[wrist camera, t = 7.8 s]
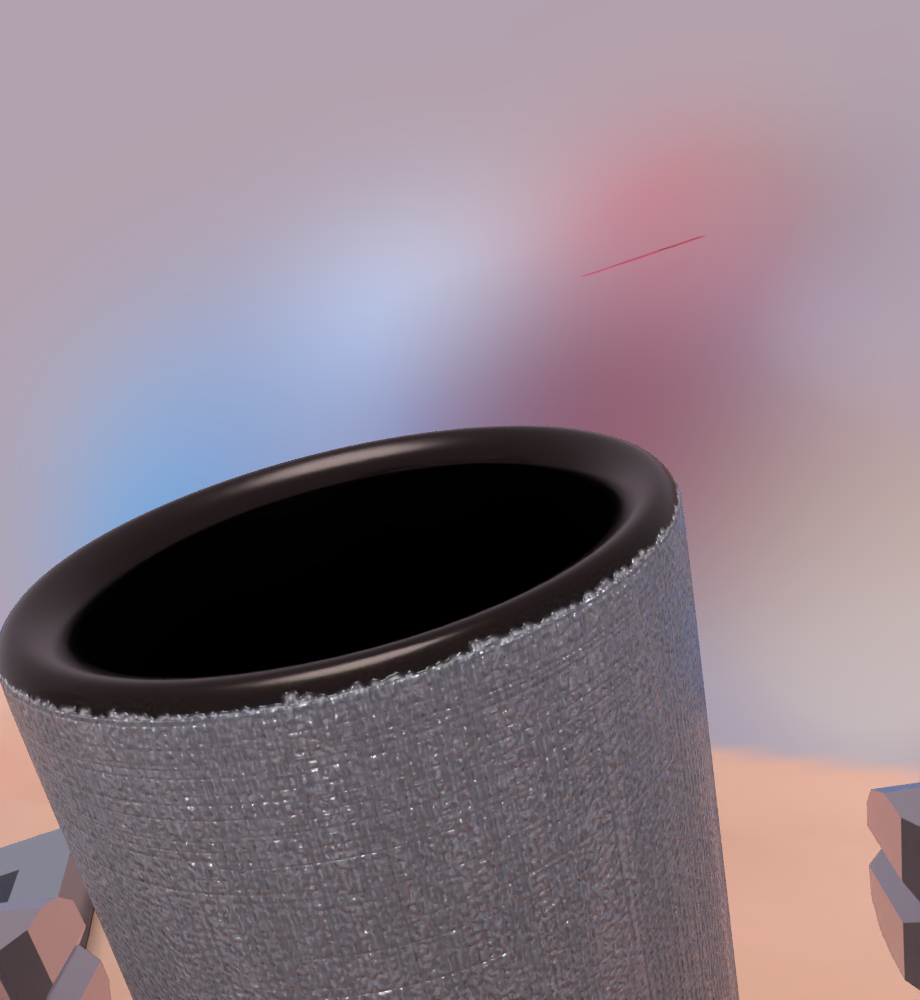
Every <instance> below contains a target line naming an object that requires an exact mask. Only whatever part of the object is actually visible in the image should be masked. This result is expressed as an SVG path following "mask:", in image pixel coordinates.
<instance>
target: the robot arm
mask: <svg viewBox="0 0 920 1000" xmlns="http://www.w3.org/2000/svg"><path fill="white" fill-rule="evenodd" d="M867 826H868V827H869V829H870V831H871V832H872V834H873V835H874V837H875V839H876V840H877V842H878V844H879V845H880V847H881V848H882V849H881V850H880V851H879V853H878V854H877V855H876V857H875V858H874V859H873V861H872V862H871V863H870V865H869V872H870V885H871V896H872V900H873V904H874V908H875V911H876V915H877V919H878V923H879V927H880V930H881V932H882V934H883V937H884V939H885V941H886V944H887V946H888V949H889V951H890V953H891V955H892V957H893V959H894V961H895V963H896V964H897V966H898V968H899V970H900V972H901V974H902V976H903V977H904V979H905V980H906V981H907V982H909V983H910V984H912V985H913V986H915V987H916V988H917V989H919V990H920V783H912V784H905V785H898V786H891V787H884V788H877V789H871V790H870V794H869V797H868V800H867ZM85 927H86V925H85V923H84V921H83V919H82V917H81V915H80V913H79V911H78V909H77V907H76V905H75V903H74V901H73V900H69V899H65V898H60V897H52V898H43V899H33V900H24V901H14V902H5V903H0V1000H111V993H110V984H109V979H108V976H107V974H106V971H105V969H104V967H103V964H102V962H101V960H100V959H98V958H97V957H95V956H94V955H93V954H91V953H90V952H88V951H87V950H86V949H84V948H83V947H81V946H80V945H79V943H80V941H81V938H82V935H83V933H84V930H85Z"/></svg>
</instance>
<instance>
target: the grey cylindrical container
mask: <svg viewBox="0 0 920 1000" xmlns="http://www.w3.org/2000/svg"><path fill="white" fill-rule="evenodd" d="M695 613H696V612H695V604H694V595H693V586H692V578H691V569H690V560H689V552H688V543H687V535H686V526H685V518H684V512H683V505H682V498H681V493H680V490H679V487H678V484H677V482H676V481H675V479H674V477H673V475H672V474H671V473H670V471H669V470H668V469H667V468H666V467H665V466H664V464H662V462H661V461H659V460H658V459H657V458H656V457H654V456H653V455H652V454H650V453H649V452H647V451H646V450H644V449H642V448H640V447H639V446H637V445H634V444H632V443H630V442H628V441H625V440H622V439H619V438H616V437H613V436H609V435H605V434H601V433H596V432H591V431H586V430H579V429H572V428H562V427H548V426H492V427H476V428H463V429H453V430H444V431H435V432H428V433H421V434H414V435H407V436H400V437H395V438H389V439H383V440H378V441H372V442H367V443H362V444H358V445H353V446H348V447H344V448H339V449H335V450H330V451H327V452H322V453H318V454H314V455H310V456H306V457H302V458H299V459H295V460H291V461H288V462H284V463H280V464H277V465H274V466H270V467H267V468H264V469H260V470H258V471H254V472H251V473H248V474H245V475H241V476H239V477H236V478H233V479H230V480H227V481H224V482H221V483H218V484H216V485H213V486H210V487H207V488H205V489H202V490H199V491H197V492H194V493H191V494H189V495H187V496H184V497H182V498H179V499H177V500H174V501H172V502H169V503H167V504H165V505H163V506H160V507H158V508H156V509H154V510H151V511H149V512H147V513H145V514H143V515H140V516H138V517H137V518H134V519H132V520H130V521H128V522H126V523H124V524H122V525H121V526H119V527H117V528H115V529H113V530H111V531H109V532H107V533H105V534H104V535H102V536H100V537H99V538H97V539H95V540H93V541H92V542H90V543H88V544H87V545H85V546H83V547H82V548H80V549H79V550H77V551H76V552H74V553H73V554H71V555H70V556H69V557H67V558H66V559H64V560H63V561H61V562H60V563H59V564H57V565H56V566H55V567H54V568H52V569H51V570H50V571H48V572H47V573H46V574H45V575H44V576H42V577H41V578H40V579H39V580H38V581H37V582H36V583H35V584H34V585H33V586H31V587H30V588H29V589H28V591H27V592H26V593H25V594H24V595H23V596H22V597H21V598H20V600H19V601H18V602H17V604H16V605H15V607H14V608H13V609H12V610H11V612H10V614H9V615H8V617H7V619H6V621H5V622H4V625H3V627H2V629H1V632H0V683H1V686H2V688H3V691H4V694H5V696H6V699H7V702H8V704H9V707H10V709H11V712H12V714H13V717H14V719H15V721H16V724H17V726H18V729H19V731H20V733H21V736H22V738H23V741H24V743H25V745H26V748H27V750H28V752H29V755H30V757H31V760H32V762H33V764H34V767H35V769H36V772H37V774H38V776H39V779H40V781H41V784H42V786H43V788H44V791H45V793H46V795H47V798H48V800H49V802H50V805H51V807H52V809H53V812H54V814H55V817H56V819H57V821H58V824H59V826H60V828H61V831H62V833H63V835H64V838H65V840H66V842H67V845H68V847H69V849H70V852H71V854H72V857H73V859H74V861H75V864H76V866H77V868H78V871H79V873H80V875H81V878H82V880H83V882H84V885H85V887H86V890H87V892H88V894H89V897H90V899H91V901H92V904H93V906H94V908H95V911H96V913H97V915H98V918H99V920H100V923H101V925H102V927H103V930H104V932H105V934H106V937H107V939H108V941H109V944H110V946H111V948H112V951H113V953H114V956H115V958H116V960H117V963H118V965H119V967H120V970H121V972H122V974H123V977H124V979H125V981H126V984H127V986H128V989H129V991H130V993H131V996H132V998H133V1000H739V994H738V985H737V976H736V968H735V959H734V950H733V941H732V932H731V923H730V914H729V905H728V897H727V888H726V879H725V870H724V861H723V852H722V843H721V834H720V825H719V817H718V808H717V799H716V790H715V781H714V772H713V763H712V754H711V746H710V737H709V728H708V719H707V711H706V702H705V692H704V683H703V675H702V666H701V657H700V648H699V640H698V630H697V621H696V614H695Z"/></svg>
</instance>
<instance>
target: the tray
mask: <svg viewBox="0 0 920 1000" xmlns="http://www.w3.org/2000/svg"><path fill="white" fill-rule="evenodd" d="M52 897H60V898H65V899H69V900H73V901H74V903H75V905H76V907H77V909H78V911H79V913H80V915H81V917H82V919H83V921H84V923H85V925H86V927H85V930H84V933H83V935H82V938H81V941H80V943H79V945H80V946H81V947H83V948H84V949H85V947H86V943H87V938H88V933H89V928H90V924H91V919H92V914H93V910H94V906H93V904H92V901H91V899H90V897H89V894H88V892H87V890H86V887H85V885H84V882H83V880H82V878H81V875H80V873H79V871H78V868H77V866H76V864H75V861H74V859H73V857H72V854H71V852H70V849H69V847H68V845H67V842H66V840H65V838H64V835H63V833H62V831H61V828H60V829H57V830H54V831H51V832H48V833H45V834H42V835H39V836H36V837H33V838H30V839H26V840H23V841H20V842H17V843H14V844H11V845H8V846H5V847H2V848H0V903H5V902H14V901H24V900H33V899H43V898H52Z"/></svg>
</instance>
